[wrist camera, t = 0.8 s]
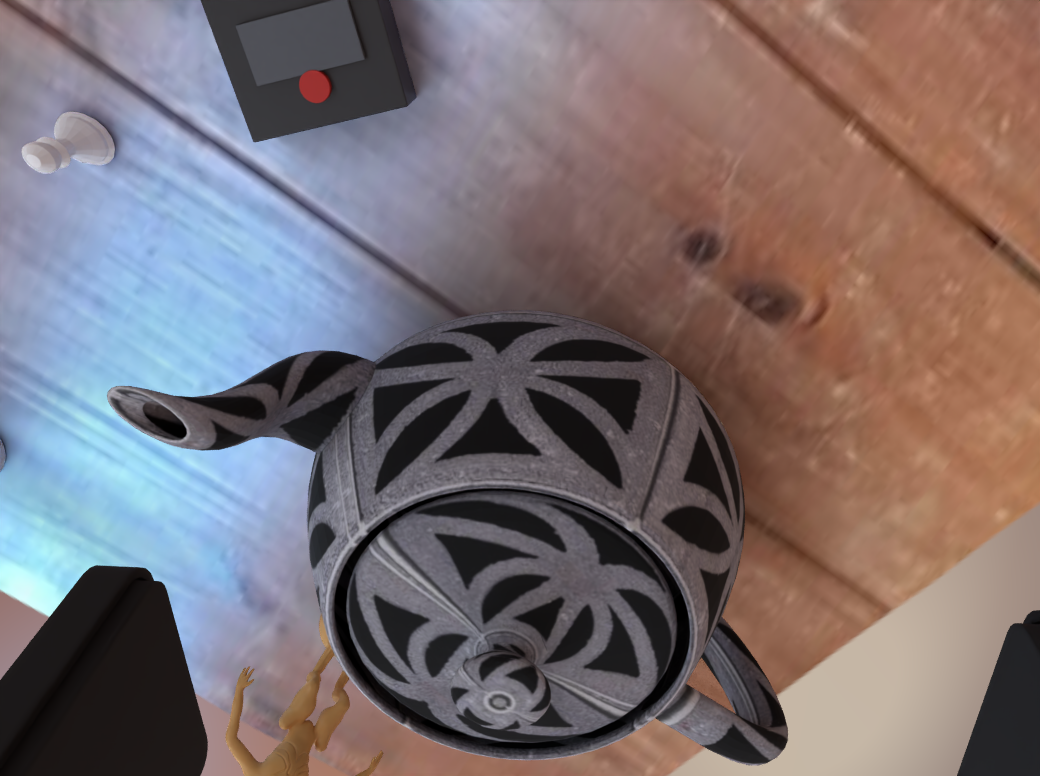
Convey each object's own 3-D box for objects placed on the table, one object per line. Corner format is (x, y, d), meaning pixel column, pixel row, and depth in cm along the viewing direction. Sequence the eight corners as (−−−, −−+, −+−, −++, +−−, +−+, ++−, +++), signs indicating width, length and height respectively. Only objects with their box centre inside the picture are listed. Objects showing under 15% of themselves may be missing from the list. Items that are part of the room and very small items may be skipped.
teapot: (346, 88, 35) (189, 193, 22) (888, 489, 42) (1019, 754, 28) (153, 408, 43) (-45, 625, 30) (632, 699, 50) (642, 980, 37)
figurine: (446, 620, 48) (402, 817, 38) (382, 673, 50) (323, 872, 40) (326, 535, 46) (243, 719, 35) (265, 595, 48) (170, 784, 38)
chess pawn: (51, 138, 37) (-7, 162, 33) (67, 98, 36) (9, 118, 32) (107, 174, 37) (56, 201, 34) (125, 136, 36) (74, 160, 33)
